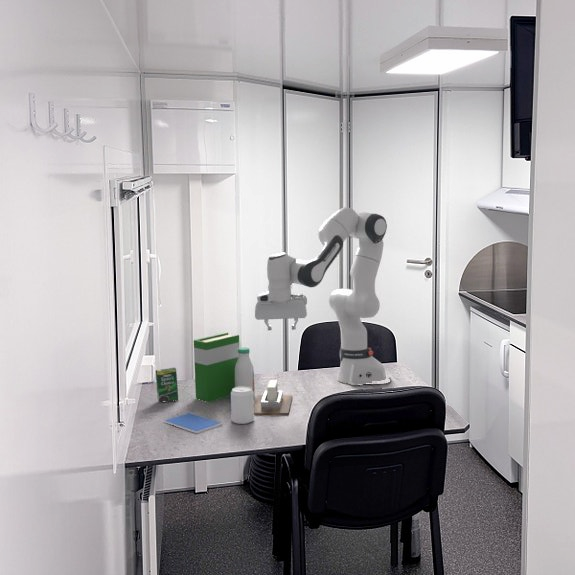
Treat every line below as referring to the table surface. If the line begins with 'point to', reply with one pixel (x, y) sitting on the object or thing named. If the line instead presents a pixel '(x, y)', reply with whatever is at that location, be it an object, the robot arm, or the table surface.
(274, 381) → the door panel
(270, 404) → the bottom track
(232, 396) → the beverage can
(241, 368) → the milk bottle
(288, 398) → the track board
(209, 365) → the hardback book
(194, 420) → the tablet computer
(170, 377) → the coffee box
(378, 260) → the robot arm
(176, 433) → the table surface
